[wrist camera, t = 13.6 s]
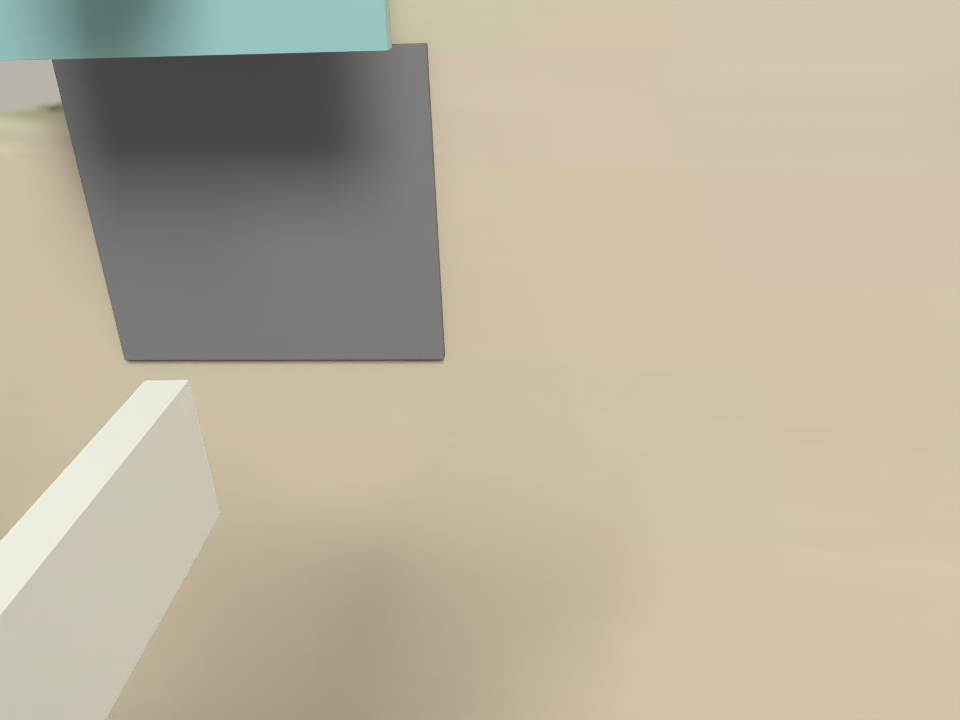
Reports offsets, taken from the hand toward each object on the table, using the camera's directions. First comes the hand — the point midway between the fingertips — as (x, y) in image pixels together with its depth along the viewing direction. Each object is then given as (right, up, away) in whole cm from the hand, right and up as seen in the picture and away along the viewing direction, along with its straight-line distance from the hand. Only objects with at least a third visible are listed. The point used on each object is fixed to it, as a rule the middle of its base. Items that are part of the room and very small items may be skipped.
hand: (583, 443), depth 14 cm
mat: (-14, +10, +35) cm, 39 cm away
